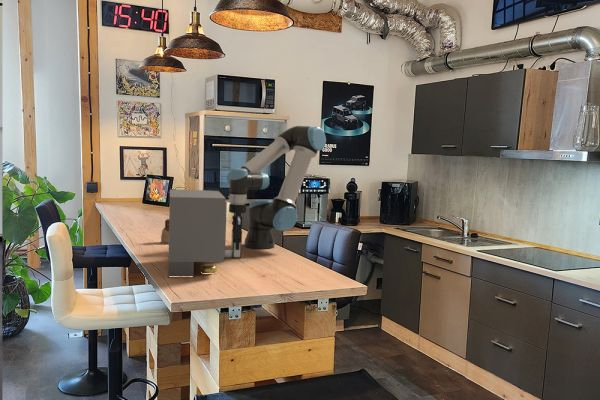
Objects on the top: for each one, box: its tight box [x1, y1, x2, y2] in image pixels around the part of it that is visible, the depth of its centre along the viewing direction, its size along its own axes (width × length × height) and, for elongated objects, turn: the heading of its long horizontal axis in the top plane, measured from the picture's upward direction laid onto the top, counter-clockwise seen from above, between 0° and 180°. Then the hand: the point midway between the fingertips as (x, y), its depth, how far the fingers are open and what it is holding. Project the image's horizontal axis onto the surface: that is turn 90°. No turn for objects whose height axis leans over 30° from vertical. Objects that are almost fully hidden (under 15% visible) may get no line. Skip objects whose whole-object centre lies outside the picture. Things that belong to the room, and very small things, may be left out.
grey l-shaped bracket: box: [224, 229, 243, 259], centre depth 217 cm, size 20×4×12 cm, turn 105°
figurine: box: [160, 218, 169, 245], centre depth 242 cm, size 7×7×12 cm
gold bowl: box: [200, 263, 217, 273], centre depth 190 cm, size 6×6×3 cm
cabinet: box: [167, 189, 228, 277], centre depth 196 cm, size 22×28×30 cm
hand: (236, 255), depth 219 cm, fingers closed on grey l-shaped bracket, 4 cm apart
